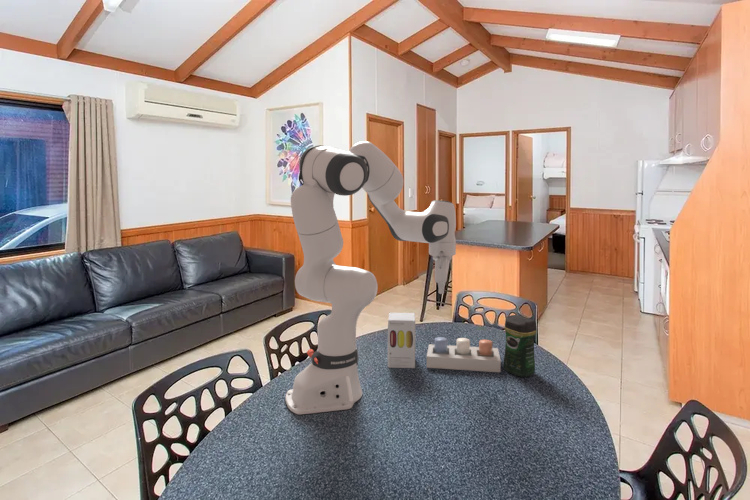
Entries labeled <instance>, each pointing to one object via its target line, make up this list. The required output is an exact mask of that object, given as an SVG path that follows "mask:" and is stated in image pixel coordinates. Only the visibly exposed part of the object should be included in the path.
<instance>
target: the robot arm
mask: <svg viewBox="0 0 750 500" xmlns="http://www.w3.org/2000/svg"><path fill="white" fill-rule="evenodd" d="M298 165H299V166H298V169H299V171H298V172H299V174H298V182H299V183H300V186H298V187H297V188H295V189H294V191H293V192H292V193H291V195H290V207H291V215H292V219H293V222H294V226H295V230H296V232H297V236H298V239H299V242H300V245H301V248H302V249H301V250H302V252H303V265H302V266H301V267H300V268H299V269H298V270H297V272H296V274H295V277H294V287H295V291H296V292H297V294H298V295H299V296H302V297H304V298H306V299H308V300H310V301H314V302H319V303H321V302H322V303H328V304H331V313H330V314H328V315H326V316H324V317H322V319H321V320H320V321H319V322H318V325H317V327H316V328H317V330H316V331H317V349H316V350H315V351H314V349H312V348H309V349H307V351H306V354H307V355H308V357H309V358H310V359H311V363H309V365H307V366H306V367H305V368H304V369H302V370H301V371H300V372H299V373H298V374H297V375H296V376H295V378H294V380H293V386H292V389H288V391H286V393H285V398H284V399H285V404H286V405H287V408H288V409H289V410H290V411H291V412H292V413H294V414H295V415H307V414H317V413H327V412H335V411H343V410H344V411H345V410H350V409H352V408H353V406H354V405H355V403H356V402H357V401H359V400H360V399H361V398H362V396H363V389H362V387H361V383H360V379H359V378H360V377H359V372H358V366H359V352H358V347H357V324H358V319H359V317H360V315H361V313H362V311H363V310H364V309H365V308H367V306H369V305H370V304H372V302H374V300H375V298H376V296H377V294H378V287H379V286H378V282H377V281H378V280H377V277H376V276H375V275H374V273H373V272H371V271H369V270H366V269H363V268H360V267H356V266H347V265H345V266H344V265H339V264H336V262H335V261H334V259H335V258H337V257H338V256H339V255H340V253H341V252H342V250H343V247H344V238H343V235H342V231H341V228H340V224H339V221H338V217H337V215H336V211H335V208H334V198H335V195H338V196H343V197H344V196H352V195H355V194H356V193H358V192H359V191H361V189H362V190H364V191H365V193H366V194H367V196H368V197H367V198H368V199H369V202H370V204H371V205H372V206H373V207H374V209H375V211H377V212H378V214H379V215H380V217H382V219H383V220H384V222H385V223H386V225H387V226H388V229H389V231H390V234H391V236H393V238H394V239H395V240H397V241H400V242H414V243H415V242H416V243H425V244H428V254H429V255H430V256H432V260H433V261H434V281H435V283H437V288H438V290H437V291H438V294H439V295H443V294H445V286H446V283H447V280H448V272H449V269H450V268H449V267H450V264H451V263H450V262H451V260H453V257H454V256H456V254H457V253H456V252H457V251H456V248H457V247H456V246H457V239H456V235H455V233H456V228H457V215H456V214H457V213H456V208H455V205H454V203H453V202H452V201H449V200H448V201H447V200H439V199H438V200H432V201H431V202H430V205H429V207H427V209H425V210H423V211H421V212H420V211H410V210H409V211H408V210H404V209H402V208H400V207H399V205H398V204H397V203H396V201H395V200H396V199H397V198H398V197H399V195H400V194H401V192H402V190H403V187H404V177H403V173H402V172H401V171H400V169H399V168H398V166H397V165H396V164H395V163H394V162H393V161H392V159H391V158H390V157H388V155H387V154H386V153H384V152H383V151H382V150H381V148H379V147H378V146H376V145H375V144H374V143H372V142H371V141H367V140H365V141H364V140H362V141H359V142H357V143H355V144H353V145H352V146H351V147H350V148H349V150H348V151H346V150H342V149H339V148H338V147H333V146H325V145H313V146H311V147H308V148H306V149H305V150H304V152H302V154H301V156H300V158H299V164H298Z"/></svg>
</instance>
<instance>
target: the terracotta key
mask: <svg viewBox="0 0 750 500" xmlns="http://www.w3.org/2000/svg"><path fill="white" fill-rule="evenodd" d="M493 344H494V342H493V341H492V340H490V339H480V340H479V341H478V347H479V354H481V355H485V356H489V355H492V348H493Z"/></svg>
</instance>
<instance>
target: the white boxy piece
mask: <svg viewBox="0 0 750 500" xmlns="http://www.w3.org/2000/svg"><path fill="white" fill-rule="evenodd" d="M456 350H457V345H451V344H449V345H448V344H447V352H445V353H438V352H435V350H434V344H432V343H431V344H428V348H427V353H426V368H427V369H443V370H459V371H460V370H461V371H474V372H486V373H487V372H489V373H501V362H502V361H501V357H500V351H499V348H498V347H492V355H489V356H485V355H481V354H479V346H470V352H469V353H467V354H461V353H458V352H457V351H456Z"/></svg>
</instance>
